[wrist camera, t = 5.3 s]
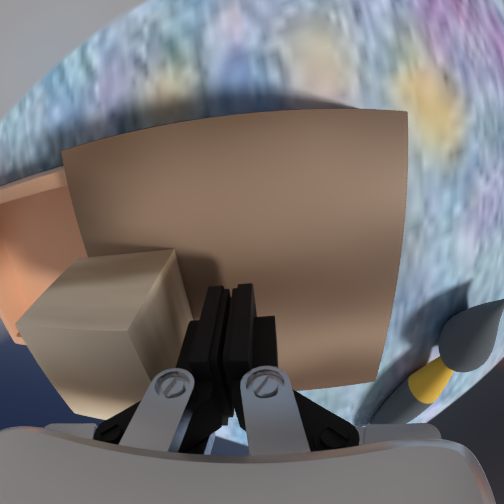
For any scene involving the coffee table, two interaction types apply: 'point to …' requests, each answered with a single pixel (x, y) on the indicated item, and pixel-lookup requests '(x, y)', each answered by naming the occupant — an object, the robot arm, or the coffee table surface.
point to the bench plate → (265, 221)
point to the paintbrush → (445, 362)
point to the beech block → (109, 329)
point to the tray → (34, 241)
